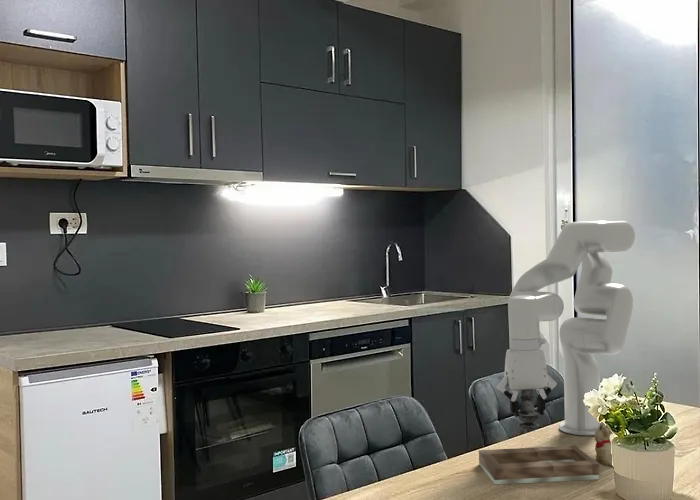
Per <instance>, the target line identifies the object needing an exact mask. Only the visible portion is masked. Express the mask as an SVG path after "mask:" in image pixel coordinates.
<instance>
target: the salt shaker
mask: <svg viewBox="0 0 700 500" xmlns="http://www.w3.org/2000/svg"><path fill="white" fill-rule="evenodd" d="M520 391H521V396H520V397H519V398H520V400H521V407H520V409H518V411H519V416H518V417H517V418H518V420H519V421H520V423H518V424H517V427H518V428H520V429H524V430H534V429H538V428H539V427H540V425H539V423H538V422H537V420H538V419H539V417H540V415H541V414H540V412H539V411H538V410H537V409H536V407H535V405H534V399H535V396H534V394H533V393H534V392H533V391H534V389H530V390H520Z"/></svg>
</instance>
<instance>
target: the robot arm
mask: <svg viewBox="0 0 700 500" xmlns="http://www.w3.org/2000/svg"><path fill="white" fill-rule="evenodd" d="M635 233H636V232H635V229H634V227H633V226H632V224H630V222H628V221H625V220H617V221H615V220H614V221H609V220H608V221H607V220H590V221H589V220H588V221H586V220H585V221H583V220H582V221H572V222H569V223H567V224H566V225H564V227H563V228H562V229H561V231H560V233H559V234H558V236H557V239H556V240H555V242H554V244H553V246H552V247H551V250H550V252H549V253H548V255H547V257H546V258H545V259H544V260H542V261H540V262H538V263H537V264H535V265H534V266H533V267H531V268H530V269H528V270H527V271H525V272H523V274H522V275H521V276H520V277H519V279H518V280H517V281H516V282H515V285H514V286H513V288H512V291H511V293H510V295H509V296H508V297H509V298H508V301H507V313H508V315H507V316H508V331H509V332H508V334H509V348H508V349H506V352H505V359H504V376H503V378H502V379H501V380H500V382H499V383H498V384H497V385H496V389H498V391H500V392H501V393H502V394H503V395H504V396H506V397H507V398H508V399H509V409H510V413H511V414H512V415H513V416H514V417H515V418H518V416H519V411H518V410H519V401H517V397H518V395H519V392H520V391H521V390H530V389H533V390H536V393H537V396H536V410H538V411H539V412H540V414H539V415H541V416H543V415H545V412H544V411H546V399H547V397H548V395H549V394H550V393H551V392H552V390H554V388H555V387H556V386H557V385H558V383H557V381H556V380H554V378H552V377H551V376H550V375H549V374H548V370H547V369H548V367H547V362H546V356H545V353H544V349H543V347H542V345H545V344H546V341H547V340H546V338H542V337H541V336H540V335H541V334H540V323H542V322H552V321H555V320H558V319H559V318H560V317H561V316H562V314H563V312H564V308H565V306H564V305H565V303H564V301H563V299H562V297H561V296H560V295H559V294H557V293H555V292H550V291H540V290H541V289H544V288H546V287H548V286H551V285H554V284H558V283H560V282H563V281H566V280H568V279H571V278H572V277H573V276H575V275H576V274H577V271H578V269H579V267H580V265H581V271H580V274H579V280H578V283H577V287H576V290H575V295H574V299H573V307H574V308H573V309H574V310H575V312H576V313H577V314H580V315H581V316H586V317H581V316H579V317H577V316H576V317H569V318H566V319H565V320H564V321H563V322H562V323H561V325H560V327H559V332H558V333H559V341H560V345H561V350H562V357H563V387H564V388H563V389H564V390H563V392H564V393H563V394H564V396H563V397H564V401H563V402H564V421H561V422H560V423H558V427H559V430H560V431H562V432H564V433H565V434H571V435H574V436H575V435H576V436H595V431H597V430H598V429H599V426H600V423H599V422H598V421H597V418H594V417H593V416H592V415H591V414H590V413H589V412H588V408H587V407H586V406H585V405H584V403H583V398H584V394H585V393H587V392H589V391H590V390H592V389H598V388H599V385H601V384H600V366H599V363H598V361H597V359H596V357H595V355H594V354H599V355H608V356H613V355H617V354H619V353H620V352H621V351H622V349H623V347H624V345H625V342H626V339H627V335H628V334H627V333H628V330H629V325H630V321H631V316H632V312H633V308H634V307H633V306H634V299H633V294H632V291H631V290H630V288H629V287H628V286H626V285H624V284H620V283H612V282H611V281H612V277H613V268H612V265H611V263H610V261H609V260H608V259H607V258H606V256H605V254H604V253H618V252H625V251H628V250H629V249H631V248H632V246H633V245H634V243H635V239H636V234H635ZM591 317H592V318H591ZM593 317H595V318H593ZM597 317H599V318H597ZM602 318H604V319H602ZM605 318H606V319H605ZM505 387H508V388H509V389H510V390H507V389H506V388H505Z"/></svg>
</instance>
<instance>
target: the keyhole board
mask: <svg viewBox="0 0 700 500" xmlns="http://www.w3.org/2000/svg"><path fill="white" fill-rule="evenodd" d="M478 464H479V466H480V467H481V469H482V470H483V472H484V473H485V474H486V475H487V477H488V478H489V479H490V480H491V482H492V483H493V484H494V485H510V484H511V485H513V484H528V483H529V484H531V483H532V484H533V483H552V482H570V481H571V482H572V481H590V480H591V481H592V480H600V463H599V462H598V461H597V460H595V459H594V458H592V457H591V456H589V455H588V454H586V453H585V452H584V451H583V450H581V449H580V448H579V447H578V446H576V445H563V446H561V445H560V446H540V447H517V448H499V449H494V448H493V449H479V450H478Z"/></svg>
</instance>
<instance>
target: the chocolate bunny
mask: <svg viewBox="0 0 700 500" xmlns="http://www.w3.org/2000/svg"><path fill="white" fill-rule="evenodd" d="M610 436H611V429H610V430H609V429H608V428H607V427H606V426H605V424H604V423H603V422H601V423H600V426H599V429H598V430H597V431H595V435H594V440H595V447H594V451H595V452H596V456H595V459H596V460H595V461H596V462H597V463H598V464H601V465H603V466H608V467H613V466H612V454H611V444H612V441H611V438H610Z"/></svg>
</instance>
